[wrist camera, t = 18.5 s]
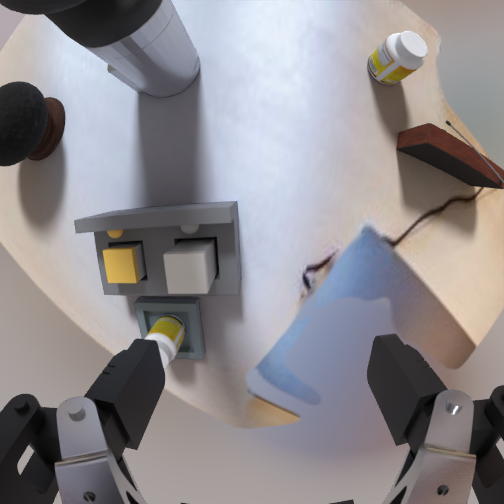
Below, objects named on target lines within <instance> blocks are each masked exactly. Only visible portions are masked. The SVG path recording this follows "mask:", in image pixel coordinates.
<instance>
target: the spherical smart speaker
mask: <svg viewBox="0 0 504 504" xmlns="http://www.w3.org/2000/svg"><path fill="white" fill-rule="evenodd" d="M64 126H65V110H64V107H63V105H62V103H61V102H60V101H59V100H57V99H55V98H51V97H48V98H44V97H43V94H42V93H41V92H40V91H39V90H38V89H37V87H35V86H33V85H31V84H29V83H26V82H19V81H18V82H12V83H8V84H6V85H3V86H2V87H0V166H11V165H14V164H16V163H19V162H21V161H22V160H24V159H25V158H26V157H28V158H29V159H31V160H42V159H44V158H46V157H48V156H49V155H50V154H51V153H52V152H53V151H54V150H55V148H56V146H57V145H58V143H59V141H60V139H61V136H62V134H63V130H64Z"/></svg>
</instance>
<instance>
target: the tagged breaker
mask: <svg viewBox="0 0 504 504" xmlns="http://www.w3.org/2000/svg"><path fill="white" fill-rule="evenodd" d="M103 256H104V262H105V268H106V274H107V279H108V283H137V282H138V281H140V280H141V279H142V278H143V277H144V276H145V275H146V274H147V271H146V263H145V256H144V248H143V240H141V241H123V242H119V243H117V244H115V245H113V246H111V247H109V248H107V249H105V250H103Z"/></svg>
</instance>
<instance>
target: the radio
mask: <svg viewBox="0 0 504 504" xmlns="http://www.w3.org/2000/svg"><path fill="white" fill-rule="evenodd" d="M446 124H448V125H449V126H451V127H452V128H453V129H454V130H455V131H456V132H457V133H458V134H459V135H460V136H461V137H462V138H463V139H465V138H464V137H463V136H462V135H461V134H460V133H459V132H458V131H457V130H456V129H455V128H454V127H453V126H452V125H451V123H450V122H449V121H446ZM465 140H466V139H465ZM466 141H467V140H466ZM467 142H468V141H467ZM468 143H469V142H468ZM469 145H470V146H471V147H470V146H469ZM469 145H467V144H465V143H464V142H462V141H461V140H459V139H457V138H456V137H454V136H452V135H451V134H449V133H447V132H446V131H445V130H443V129H440V128H438V127H437V126H435V125H433V124H430V123H427V124H424V125H421V126H417V127H414V128H411V129H408V130H405V131H401V132H399V136H398V142H397V148H396V149H397V150H399V151H401V152H404V153H406V154H408V155H411V156H413V157H415V158H417V159H419V160H422V161H424V162H426V163H428V164H430V165H432V166H434V167H436V168H438V169H440V170H442V171H444V172H446V173H448V174H450V175H452V176H454V177H456V178H457V179H459V180H461V181H463V182H465V183H467V184H468V185H470V186H477V187H488V188H497V189H504V170H503V169H501V168H500V167H499V166H497V165H496V164H495V163H493V162H492V161H491V160H489V159H488V158H486V157H485V156H484V155H482V154H481V153H479V152H478V151H477V150H476V149H475V148H474V147H473V146H472V145H471V144H470V143H469Z"/></svg>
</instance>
